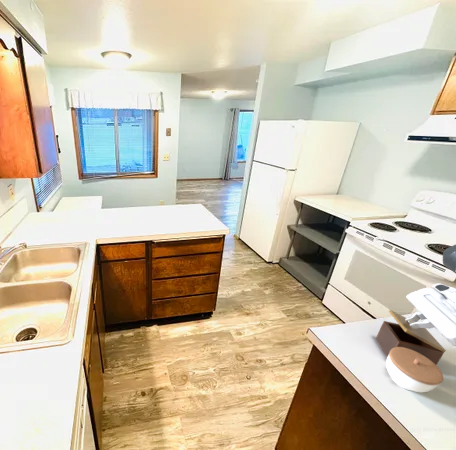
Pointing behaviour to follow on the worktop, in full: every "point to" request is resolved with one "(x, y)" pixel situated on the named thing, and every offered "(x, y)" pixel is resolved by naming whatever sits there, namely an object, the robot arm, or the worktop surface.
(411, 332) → the gold box lid
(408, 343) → the brown hinged box
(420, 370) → the trinket box
